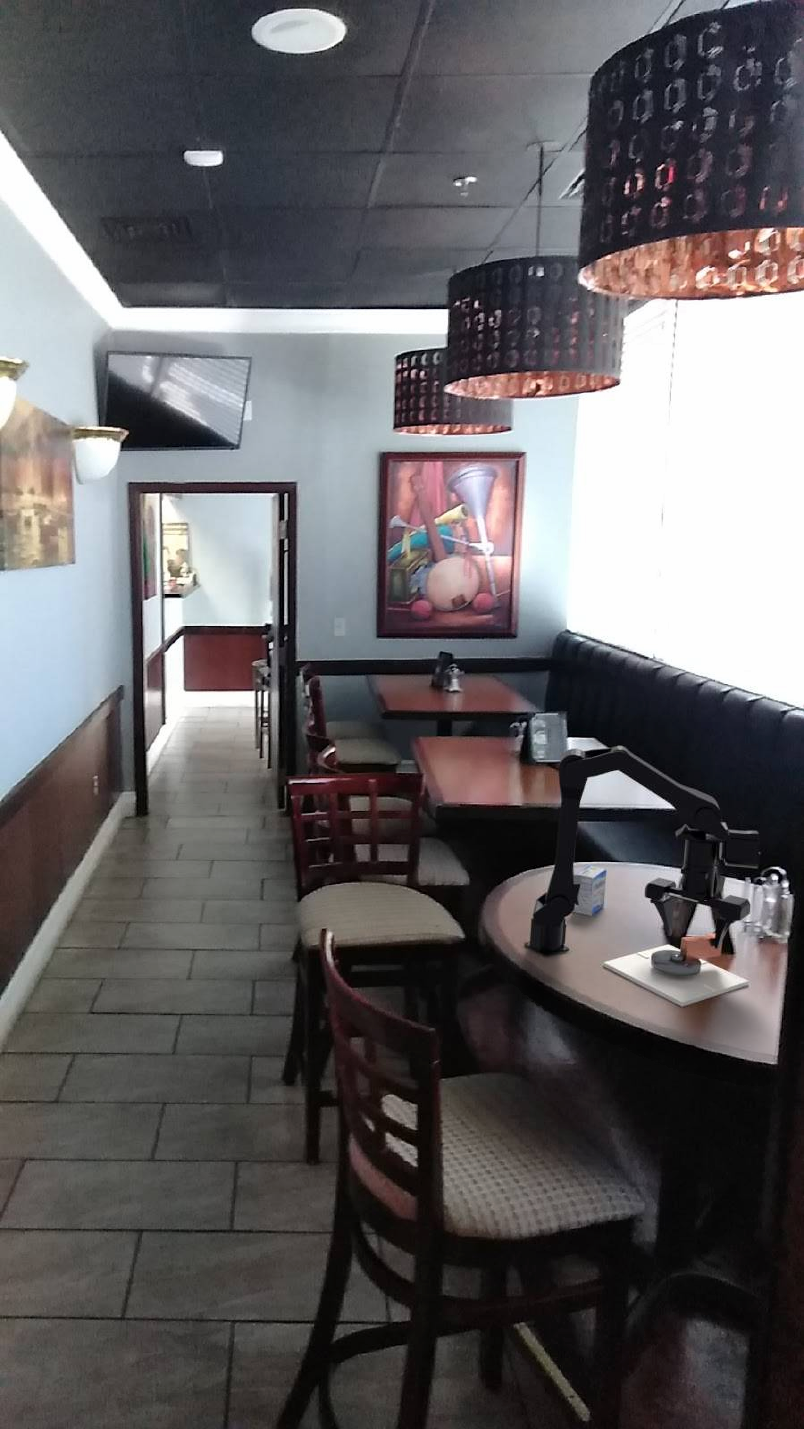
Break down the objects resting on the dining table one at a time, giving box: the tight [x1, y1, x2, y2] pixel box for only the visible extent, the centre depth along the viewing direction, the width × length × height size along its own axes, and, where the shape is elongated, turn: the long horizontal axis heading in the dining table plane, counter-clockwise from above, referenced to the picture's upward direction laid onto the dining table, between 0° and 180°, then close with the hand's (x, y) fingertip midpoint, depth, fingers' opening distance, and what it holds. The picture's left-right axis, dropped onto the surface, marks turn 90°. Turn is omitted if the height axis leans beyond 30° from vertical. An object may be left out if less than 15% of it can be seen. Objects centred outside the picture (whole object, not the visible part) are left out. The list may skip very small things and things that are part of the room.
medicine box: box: [572, 865, 607, 917], centre depth 218 cm, size 8×4×9 cm, turn 148°
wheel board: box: [603, 944, 749, 1008], centre depth 186 cm, size 18×19×2 cm
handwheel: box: [651, 933, 723, 976], centre depth 187 cm, size 9×14×5 cm, turn 112°
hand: (692, 941), depth 190 cm, fingers open, 9 cm apart
